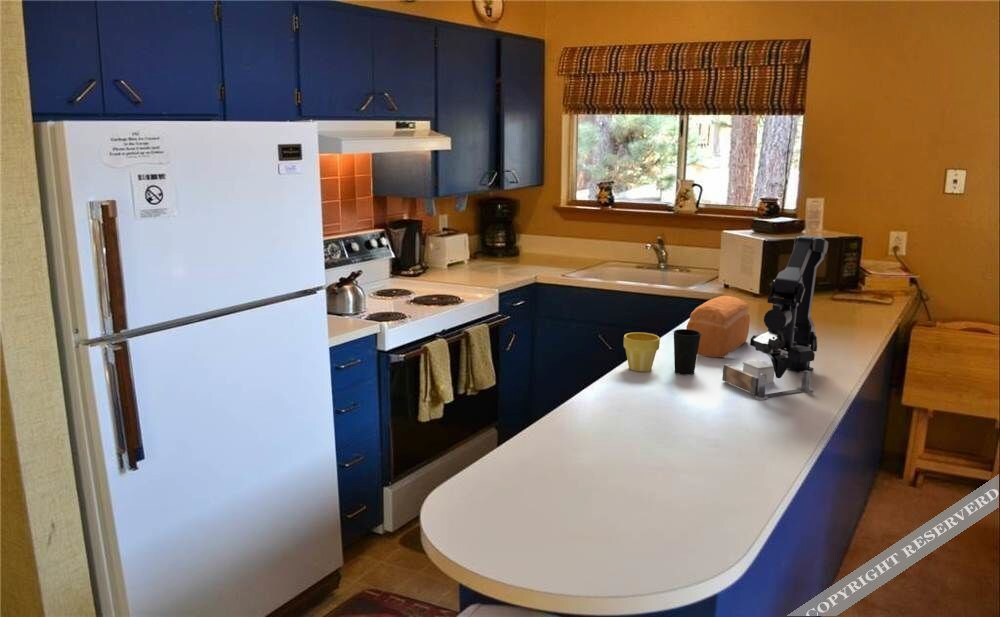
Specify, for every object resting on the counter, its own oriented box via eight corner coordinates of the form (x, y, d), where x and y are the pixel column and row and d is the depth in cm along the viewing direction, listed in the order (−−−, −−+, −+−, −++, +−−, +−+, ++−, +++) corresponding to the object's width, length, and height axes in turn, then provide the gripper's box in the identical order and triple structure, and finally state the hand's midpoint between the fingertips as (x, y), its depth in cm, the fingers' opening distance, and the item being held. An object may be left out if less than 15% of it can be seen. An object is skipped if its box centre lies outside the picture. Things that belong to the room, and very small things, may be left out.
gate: (759, 393, 219) (760, 377, 218) (754, 394, 219) (756, 378, 218) (726, 379, 231) (727, 364, 230) (722, 380, 230) (723, 364, 229)
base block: (758, 375, 237) (760, 359, 236) (774, 382, 231) (776, 365, 230) (741, 378, 234) (742, 361, 233) (756, 385, 229) (758, 368, 227)
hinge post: (760, 394, 220) (763, 371, 219) (770, 399, 217) (772, 375, 216) (750, 396, 219) (752, 373, 217) (759, 400, 216) (762, 377, 214)
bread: (681, 352, 259) (684, 304, 255) (709, 335, 280) (713, 290, 277) (724, 360, 252) (728, 310, 248) (749, 341, 273) (754, 295, 269)
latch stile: (804, 387, 227) (806, 369, 225) (813, 391, 224) (815, 372, 223) (796, 389, 225) (798, 370, 224) (804, 392, 223) (806, 373, 221)
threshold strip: (796, 390, 225) (797, 389, 225) (802, 392, 223) (802, 391, 223) (762, 395, 220) (762, 394, 219) (767, 398, 218) (767, 397, 218)
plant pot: (636, 361, 249) (637, 330, 246) (664, 368, 242) (666, 336, 239) (615, 367, 242) (616, 335, 239) (643, 376, 234) (645, 343, 232)
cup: (698, 377, 234) (701, 336, 232) (670, 375, 236) (673, 334, 233) (697, 369, 242) (700, 330, 239) (671, 367, 243) (673, 328, 240)
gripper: (737, 317, 226) (732, 371, 230) (786, 334, 210) (780, 392, 214) (768, 314, 231) (763, 367, 235) (818, 330, 215) (812, 386, 218)
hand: (778, 377), depth 225 cm, fingers closed
